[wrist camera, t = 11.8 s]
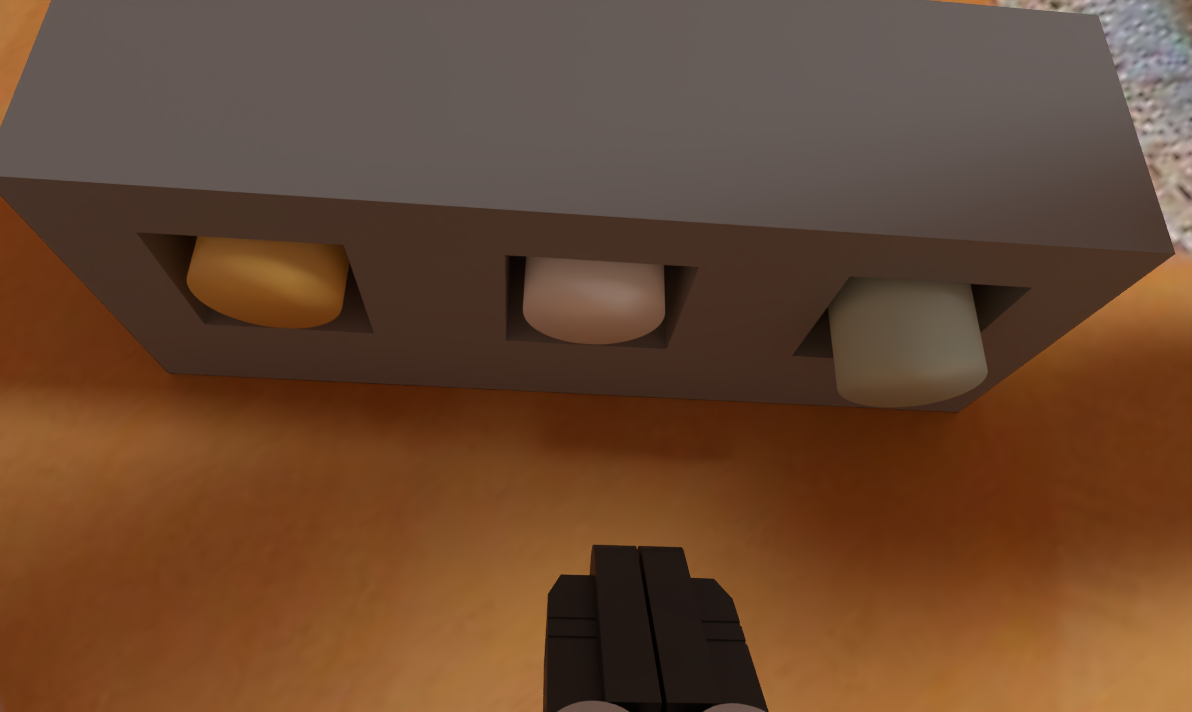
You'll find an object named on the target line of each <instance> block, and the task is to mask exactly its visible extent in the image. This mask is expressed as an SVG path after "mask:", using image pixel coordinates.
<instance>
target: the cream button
mask: <svg viewBox="0 0 1192 712" xmlns="http://www.w3.org/2000/svg"><path fill="white" fill-rule="evenodd" d="M523 314H524V317H525V319H526V320H527V322H528V323H529V324H530V325H531V326H532V327H533V328H535V329H536V330H538V331H539V332H541V333H543V334H545V335H547V336H550V337H553V338H556V339H559V340H563V341H568V342H573V343H580V344H612V343H619V342H625V341H629V340H633V339H636V338H639V337H641V336H644V335H646V334H648V333H650V332H651V331H653V330H654V329H656V328H657V327H658V326H659V325H660V324H661V322H662V321H663V319H664V316H665V286H664V265H658V264H642V263H625V262H609V261H593V260H577V259H561V258H544V257H528V256H526V265H525V282H524V298H523Z"/></svg>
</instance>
